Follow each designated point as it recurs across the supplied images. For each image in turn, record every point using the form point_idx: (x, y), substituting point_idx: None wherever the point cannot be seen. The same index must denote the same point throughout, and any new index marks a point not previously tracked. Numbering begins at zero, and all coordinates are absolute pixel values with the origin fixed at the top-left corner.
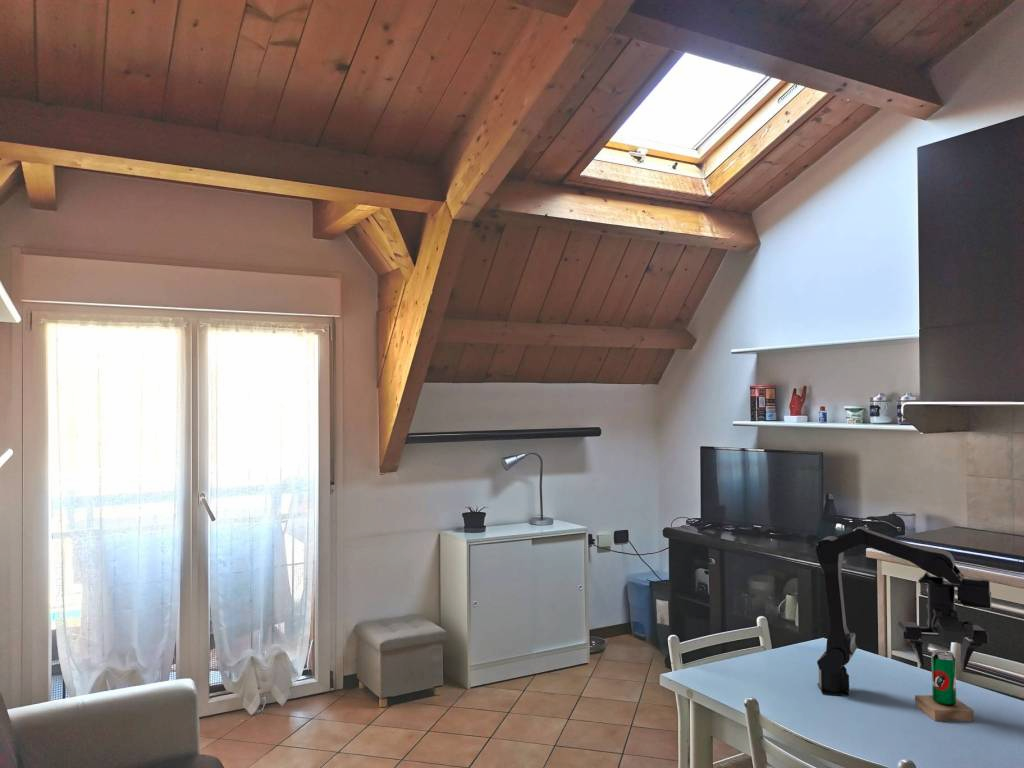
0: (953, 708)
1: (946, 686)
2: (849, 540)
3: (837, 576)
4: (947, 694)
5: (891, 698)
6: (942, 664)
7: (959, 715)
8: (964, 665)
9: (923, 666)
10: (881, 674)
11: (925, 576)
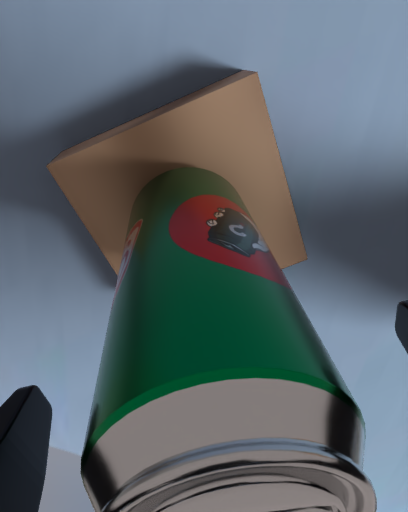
0: (149, 148)
1: (189, 206)
2: None
3: None
4: (180, 186)
5: (363, 272)
6: (252, 322)
7: (122, 128)
8: (5, 420)
9: (404, 305)
10: None
11: None
